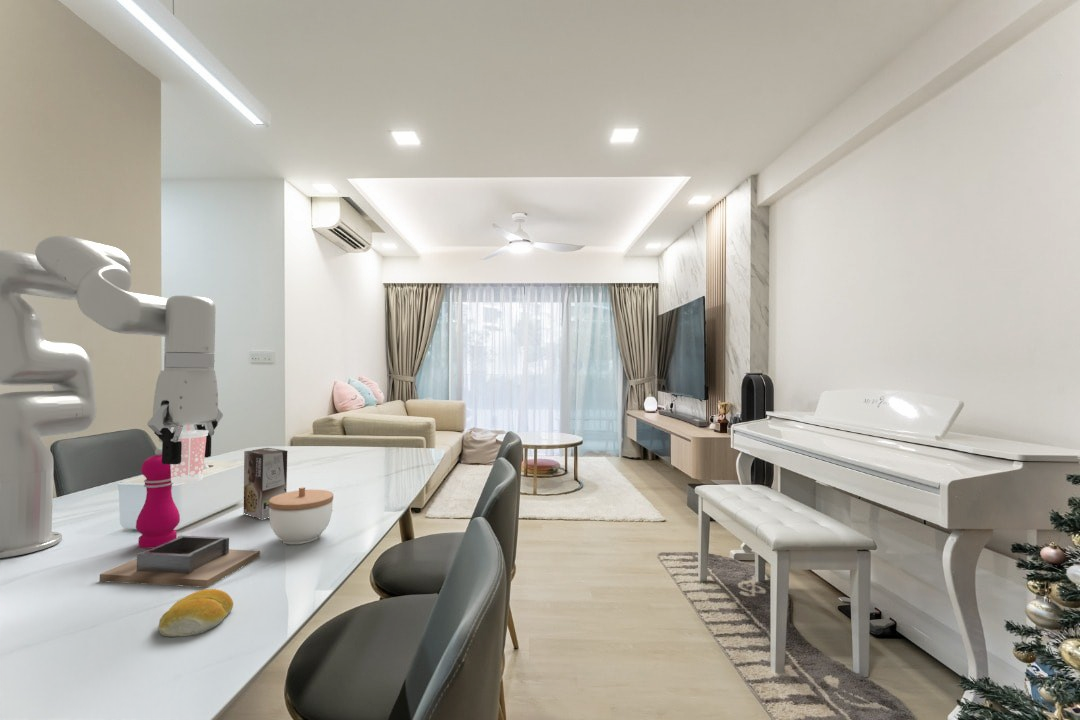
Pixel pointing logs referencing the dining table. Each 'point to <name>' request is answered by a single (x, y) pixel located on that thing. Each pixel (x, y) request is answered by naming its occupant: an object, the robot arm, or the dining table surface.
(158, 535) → the pepper mill
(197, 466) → the beverage cup
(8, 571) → the dining table surface
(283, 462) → the coffee box
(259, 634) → the dining table surface
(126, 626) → the dining table surface
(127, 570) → the cup holder
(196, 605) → the bread roll
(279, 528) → the lidded bowl
